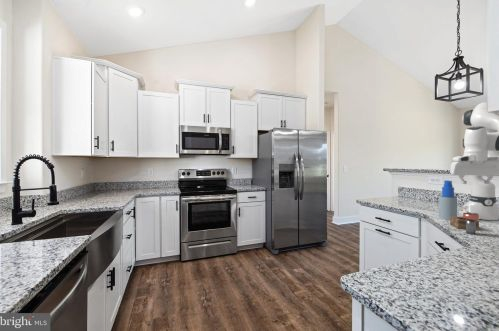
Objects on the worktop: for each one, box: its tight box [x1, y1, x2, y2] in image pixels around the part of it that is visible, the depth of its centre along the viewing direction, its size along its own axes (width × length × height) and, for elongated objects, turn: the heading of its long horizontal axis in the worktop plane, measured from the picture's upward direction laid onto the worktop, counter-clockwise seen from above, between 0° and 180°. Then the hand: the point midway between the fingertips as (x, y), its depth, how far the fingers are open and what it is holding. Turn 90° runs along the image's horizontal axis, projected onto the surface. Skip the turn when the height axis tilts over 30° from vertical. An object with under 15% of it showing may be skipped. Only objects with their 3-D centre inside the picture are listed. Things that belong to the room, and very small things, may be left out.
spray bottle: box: [438, 179, 458, 221], centre depth 147 cm, size 9×9×25 cm
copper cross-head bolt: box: [462, 212, 480, 236], centre depth 118 cm, size 6×6×11 cm
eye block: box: [449, 216, 480, 231], centre depth 129 cm, size 9×9×5 cm
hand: (475, 183), depth 118 cm, fingers open, 8 cm apart
